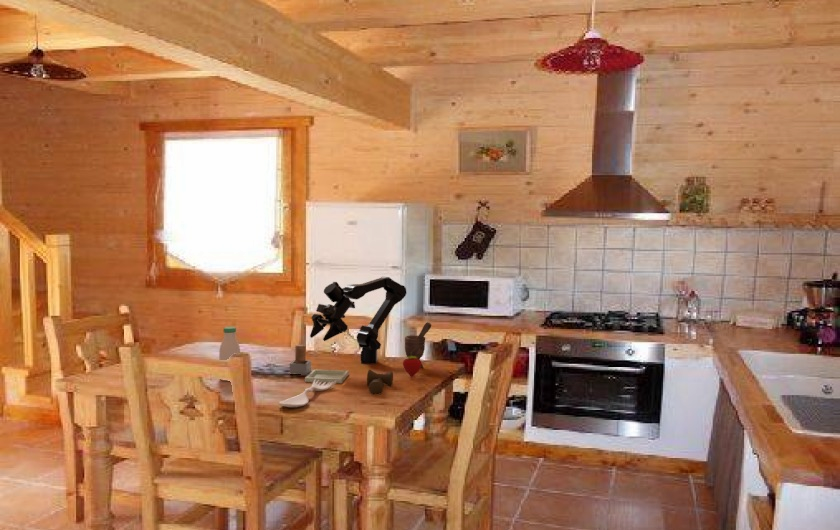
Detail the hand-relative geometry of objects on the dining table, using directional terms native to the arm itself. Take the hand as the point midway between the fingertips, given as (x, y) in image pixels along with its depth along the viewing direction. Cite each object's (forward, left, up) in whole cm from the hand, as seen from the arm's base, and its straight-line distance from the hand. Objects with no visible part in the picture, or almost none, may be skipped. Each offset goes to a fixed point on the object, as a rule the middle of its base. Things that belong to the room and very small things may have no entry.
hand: (317, 338), depth 264 cm
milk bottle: (+30, +17, -14) cm, 37 cm away
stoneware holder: (+5, +6, -13) cm, 16 cm away
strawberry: (-39, +3, -14) cm, 42 cm away
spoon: (-6, +39, -14) cm, 42 cm away
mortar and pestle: (-40, -13, -14) cm, 44 cm away
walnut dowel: (+5, +6, -13) cm, 15 cm away
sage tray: (-7, +13, -13) cm, 20 cm away
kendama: (-29, +22, -14) cm, 39 cm away
